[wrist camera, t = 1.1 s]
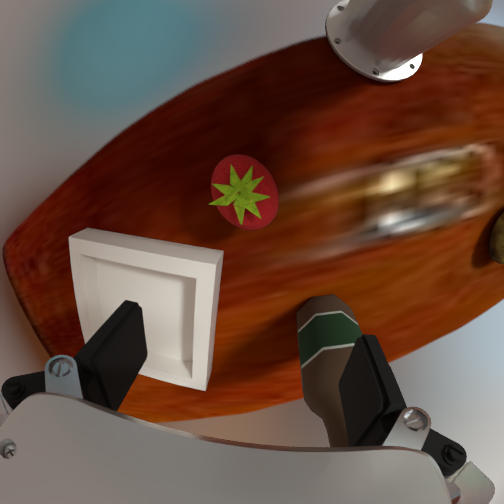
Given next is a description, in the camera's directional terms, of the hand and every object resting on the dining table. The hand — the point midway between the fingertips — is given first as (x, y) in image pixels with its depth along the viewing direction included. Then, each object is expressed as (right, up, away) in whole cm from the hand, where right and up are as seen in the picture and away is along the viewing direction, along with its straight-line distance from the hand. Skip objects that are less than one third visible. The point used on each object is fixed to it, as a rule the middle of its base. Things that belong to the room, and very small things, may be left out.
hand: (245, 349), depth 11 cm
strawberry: (0, +11, +19) cm, 23 cm away
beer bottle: (+10, -5, +24) cm, 26 cm away
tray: (-14, -3, +26) cm, 30 cm away
